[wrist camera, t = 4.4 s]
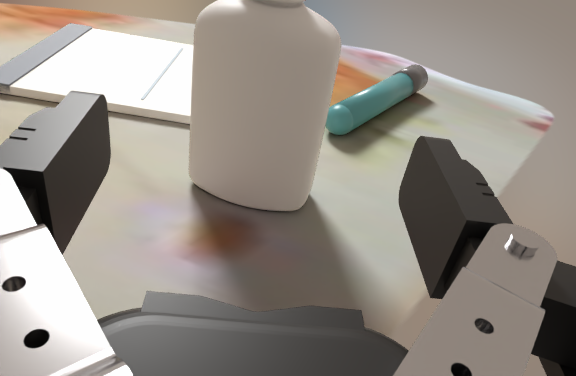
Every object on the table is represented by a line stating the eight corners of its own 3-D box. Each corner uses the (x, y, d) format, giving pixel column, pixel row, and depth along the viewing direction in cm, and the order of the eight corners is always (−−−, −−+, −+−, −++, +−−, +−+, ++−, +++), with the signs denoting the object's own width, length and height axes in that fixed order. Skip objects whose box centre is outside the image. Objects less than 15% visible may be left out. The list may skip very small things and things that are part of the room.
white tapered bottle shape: (244, 147, 25) (274, -120, 18) (324, 200, 22) (395, -94, 15) (175, 173, 22) (180, -133, 15) (257, 237, 19) (307, -103, 13)
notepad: (235, 131, 26) (236, 122, 26) (-19, 89, 26) (-21, 79, 26) (258, 63, 35) (259, 55, 35) (71, 31, 35) (70, 23, 35)
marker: (343, 143, 27) (348, 112, 26) (315, 132, 28) (319, 102, 27) (424, 93, 35) (431, 68, 34) (401, 85, 36) (407, 61, 35)
